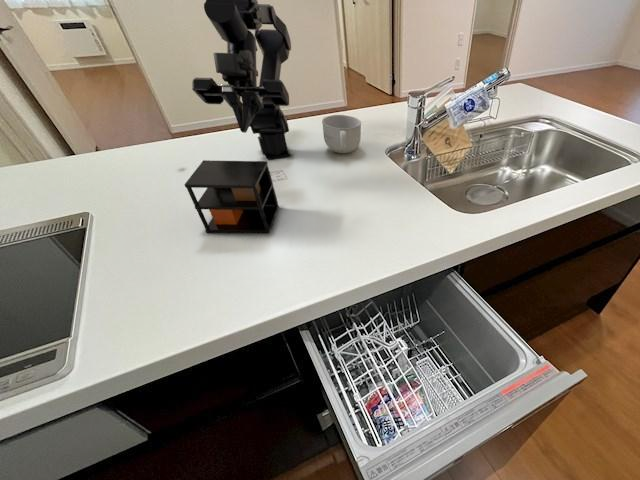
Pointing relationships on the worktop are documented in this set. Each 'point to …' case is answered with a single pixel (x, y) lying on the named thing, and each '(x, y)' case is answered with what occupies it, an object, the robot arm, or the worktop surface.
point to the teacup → (342, 133)
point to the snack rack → (235, 196)
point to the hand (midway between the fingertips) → (243, 131)
